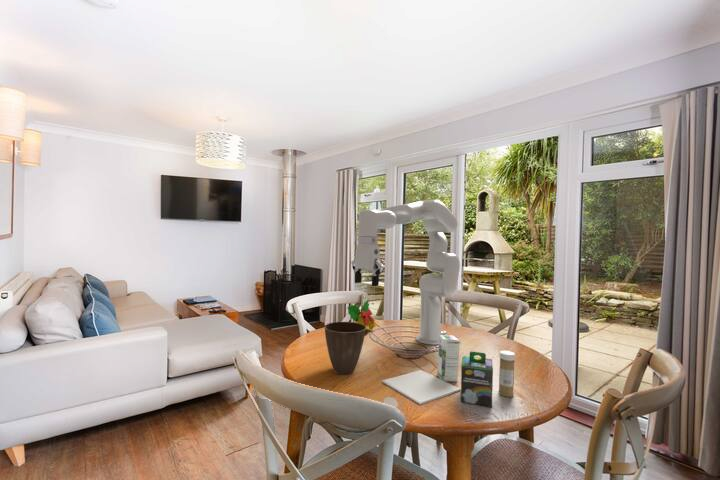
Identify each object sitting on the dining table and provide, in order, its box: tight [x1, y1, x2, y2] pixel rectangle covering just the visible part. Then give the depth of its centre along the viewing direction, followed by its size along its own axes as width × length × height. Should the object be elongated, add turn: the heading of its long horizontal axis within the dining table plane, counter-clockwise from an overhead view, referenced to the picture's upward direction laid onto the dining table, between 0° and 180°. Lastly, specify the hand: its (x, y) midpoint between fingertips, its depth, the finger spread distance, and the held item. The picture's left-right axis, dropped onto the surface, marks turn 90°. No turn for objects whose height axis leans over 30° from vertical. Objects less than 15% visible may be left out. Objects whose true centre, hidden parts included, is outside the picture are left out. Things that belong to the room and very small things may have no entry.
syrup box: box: [437, 334, 461, 382], centre depth 122 cm, size 6×6×14 cm
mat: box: [381, 369, 461, 406], centre depth 115 cm, size 18×18×1 cm
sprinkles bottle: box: [497, 350, 516, 398], centre depth 111 cm, size 5×5×14 cm
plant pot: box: [324, 321, 366, 375], centre depth 126 cm, size 15×15×16 cm
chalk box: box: [460, 351, 494, 408], centre depth 107 cm, size 9×9×15 cm
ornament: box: [347, 300, 378, 332], centre depth 176 cm, size 21×8×15 cm, turn 149°
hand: (366, 284), depth 138 cm, fingers open, 9 cm apart
